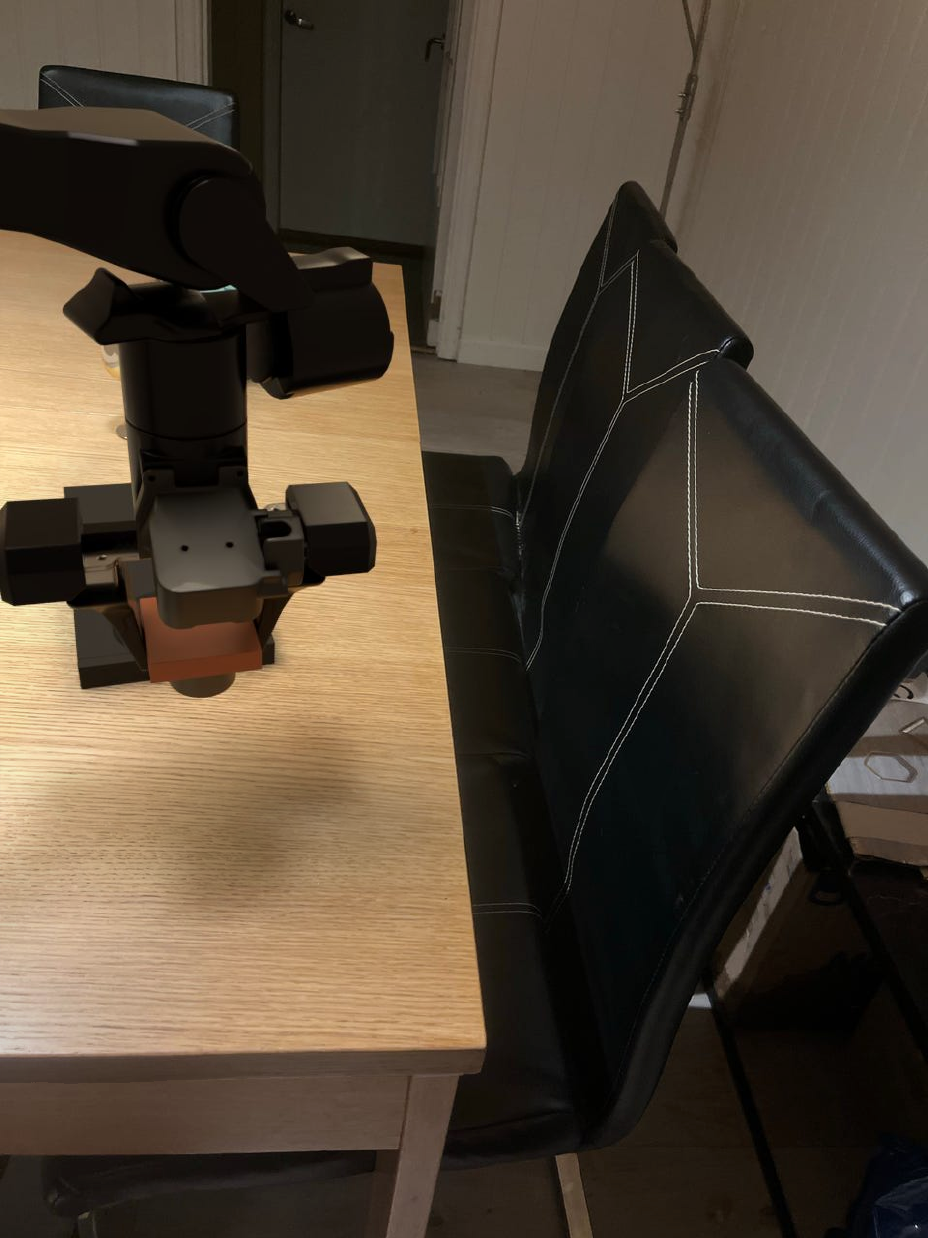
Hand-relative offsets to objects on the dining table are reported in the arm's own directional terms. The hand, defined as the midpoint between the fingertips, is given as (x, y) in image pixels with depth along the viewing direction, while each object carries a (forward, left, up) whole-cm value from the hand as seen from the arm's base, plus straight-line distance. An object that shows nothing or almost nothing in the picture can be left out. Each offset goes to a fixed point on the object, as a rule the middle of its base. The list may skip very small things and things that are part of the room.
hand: (201, 659), depth 53 cm
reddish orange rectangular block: (0, 0, -1) cm, 1 cm away
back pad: (-18, +17, -11) cm, 27 cm away
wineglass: (-37, +37, -11) cm, 53 cm away
